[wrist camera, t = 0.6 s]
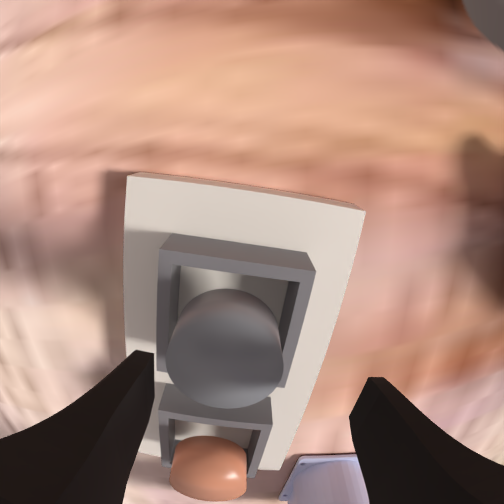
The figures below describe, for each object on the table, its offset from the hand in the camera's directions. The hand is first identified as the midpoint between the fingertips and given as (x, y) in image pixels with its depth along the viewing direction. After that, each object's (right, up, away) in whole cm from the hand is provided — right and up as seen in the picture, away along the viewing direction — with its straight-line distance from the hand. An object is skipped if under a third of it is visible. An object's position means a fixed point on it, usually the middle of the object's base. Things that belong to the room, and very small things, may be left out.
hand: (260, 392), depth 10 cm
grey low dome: (-1, +1, +4) cm, 5 cm away
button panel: (-2, -2, +11) cm, 11 cm away
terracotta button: (-3, -8, +8) cm, 12 cm away
